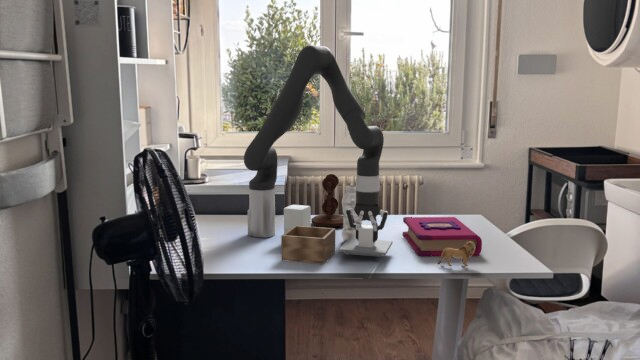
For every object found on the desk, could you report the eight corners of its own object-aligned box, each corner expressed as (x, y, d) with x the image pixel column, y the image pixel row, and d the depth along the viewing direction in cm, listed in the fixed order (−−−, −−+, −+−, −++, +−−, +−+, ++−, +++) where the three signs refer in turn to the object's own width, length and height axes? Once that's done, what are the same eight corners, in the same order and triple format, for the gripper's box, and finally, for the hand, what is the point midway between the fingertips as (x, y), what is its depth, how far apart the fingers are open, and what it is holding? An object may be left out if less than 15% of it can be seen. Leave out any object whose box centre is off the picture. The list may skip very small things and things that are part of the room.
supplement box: (311, 240, 217) (311, 205, 215) (302, 245, 210) (302, 209, 208) (293, 238, 220) (292, 203, 218) (283, 243, 213) (283, 207, 211)
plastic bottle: (359, 244, 211) (360, 187, 208) (339, 243, 213) (340, 187, 209) (361, 240, 217) (362, 184, 214) (343, 239, 219) (343, 184, 216)
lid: (339, 254, 192) (339, 230, 191) (349, 243, 206) (349, 220, 205) (385, 258, 188) (385, 233, 187) (392, 246, 202) (392, 223, 201)
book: (457, 234, 227) (458, 215, 226) (481, 256, 200) (482, 233, 198) (401, 235, 226) (402, 215, 225) (418, 257, 198) (418, 234, 197)
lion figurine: (471, 262, 191) (472, 239, 190) (477, 266, 187) (478, 243, 186) (435, 263, 190) (436, 240, 189) (439, 267, 186) (440, 244, 184)
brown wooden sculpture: (314, 220, 248) (314, 172, 244) (350, 222, 246) (351, 173, 242) (308, 229, 233) (308, 177, 230) (347, 230, 231) (347, 178, 228)
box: (281, 260, 193) (281, 235, 191) (295, 248, 206) (294, 225, 205) (324, 263, 189) (324, 238, 188) (335, 251, 202) (335, 228, 201)
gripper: (343, 189, 192) (342, 242, 195) (388, 192, 188) (386, 245, 191) (348, 186, 199) (347, 236, 202) (391, 188, 196) (390, 240, 198)
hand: (366, 241), depth 197 cm, fingers closed on lid, 4 cm apart
